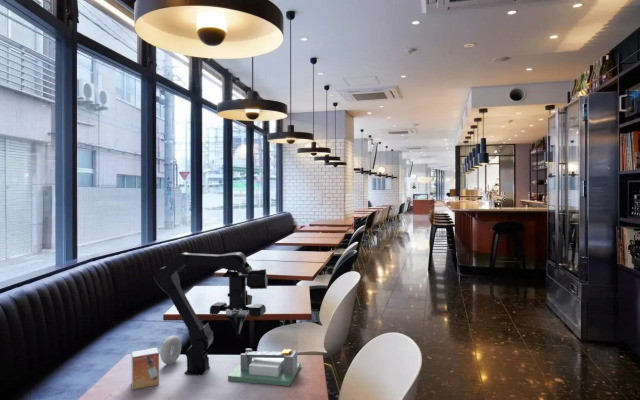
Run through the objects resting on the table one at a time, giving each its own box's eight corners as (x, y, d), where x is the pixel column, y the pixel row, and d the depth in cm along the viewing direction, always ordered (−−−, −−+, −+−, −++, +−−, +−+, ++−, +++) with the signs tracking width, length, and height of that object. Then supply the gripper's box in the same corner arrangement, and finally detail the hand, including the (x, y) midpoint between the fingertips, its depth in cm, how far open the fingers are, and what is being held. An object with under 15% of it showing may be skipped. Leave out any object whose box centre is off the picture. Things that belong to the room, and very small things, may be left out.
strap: (242, 358, 141) (242, 352, 141) (246, 354, 144) (245, 349, 144) (289, 358, 137) (289, 352, 137) (291, 355, 140) (291, 349, 140)
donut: (166, 369, 144) (166, 341, 144) (158, 368, 145) (157, 340, 145) (183, 358, 154) (183, 332, 154) (175, 357, 155) (175, 331, 155)
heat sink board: (227, 380, 136) (227, 357, 136) (245, 362, 150) (245, 341, 150) (288, 385, 131) (288, 362, 131) (300, 366, 146) (300, 345, 146)
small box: (132, 390, 129) (131, 357, 129) (131, 383, 134) (131, 351, 134) (159, 384, 133) (159, 352, 133) (157, 377, 138) (157, 346, 138)
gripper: (270, 285, 148) (271, 327, 149) (222, 283, 152) (223, 325, 153) (259, 292, 137) (260, 338, 138) (208, 290, 141) (209, 335, 142)
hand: (238, 333), depth 143 cm, fingers closed
